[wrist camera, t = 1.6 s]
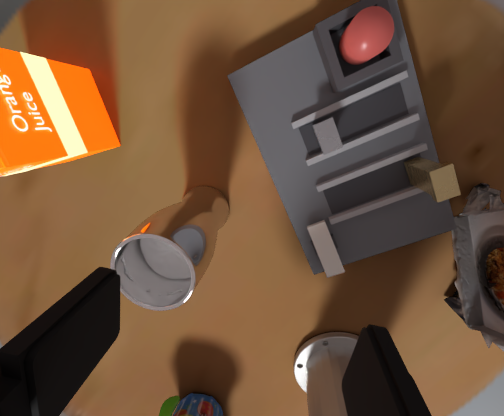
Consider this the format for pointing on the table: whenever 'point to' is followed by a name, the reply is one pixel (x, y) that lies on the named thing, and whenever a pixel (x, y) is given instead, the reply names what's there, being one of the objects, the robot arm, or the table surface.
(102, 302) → the robot arm
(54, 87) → the orange juice
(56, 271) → the table surface
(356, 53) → the button
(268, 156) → the panel
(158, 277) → the beer glass
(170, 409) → the snack cup
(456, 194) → the brass slider
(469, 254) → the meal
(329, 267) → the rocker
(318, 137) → the steel slider
